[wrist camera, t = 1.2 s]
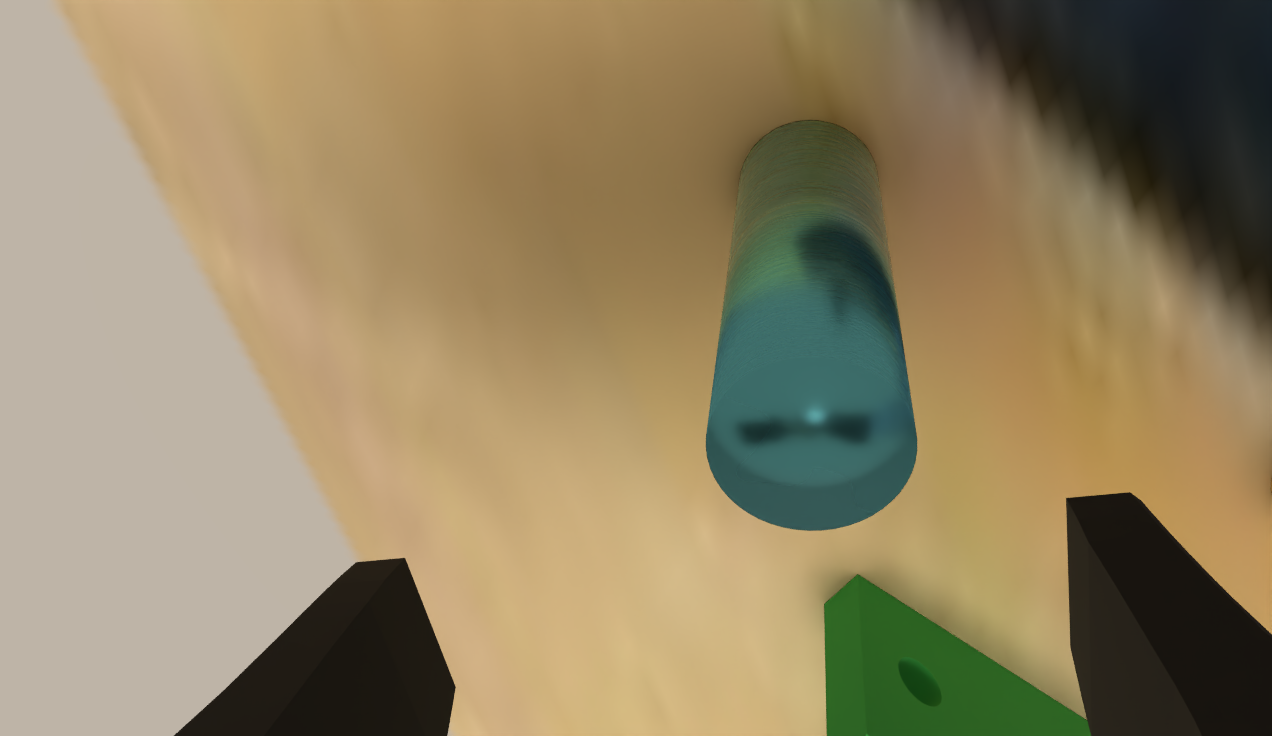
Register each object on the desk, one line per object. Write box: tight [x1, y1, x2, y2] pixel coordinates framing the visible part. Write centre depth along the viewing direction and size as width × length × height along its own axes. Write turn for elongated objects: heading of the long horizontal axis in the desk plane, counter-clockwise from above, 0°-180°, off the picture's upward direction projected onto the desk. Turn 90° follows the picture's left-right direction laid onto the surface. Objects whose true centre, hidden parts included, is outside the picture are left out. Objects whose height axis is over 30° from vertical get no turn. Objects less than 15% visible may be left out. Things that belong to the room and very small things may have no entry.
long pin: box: [706, 120, 917, 531], centre depth 17 cm, size 2×2×8 cm
